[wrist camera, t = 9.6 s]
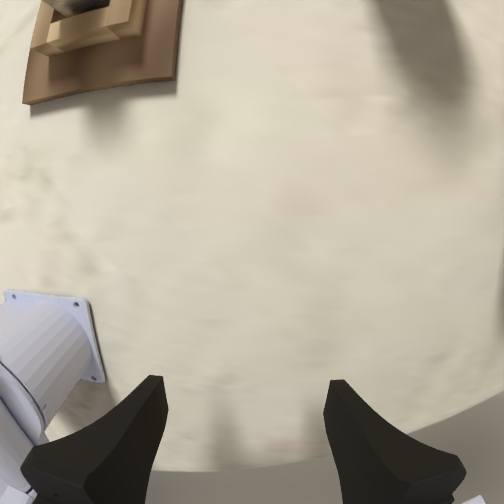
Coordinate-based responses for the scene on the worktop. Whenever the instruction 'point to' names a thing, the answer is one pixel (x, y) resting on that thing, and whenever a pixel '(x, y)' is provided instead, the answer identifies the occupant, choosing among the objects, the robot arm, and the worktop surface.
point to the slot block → (102, 48)
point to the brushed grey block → (76, 6)
